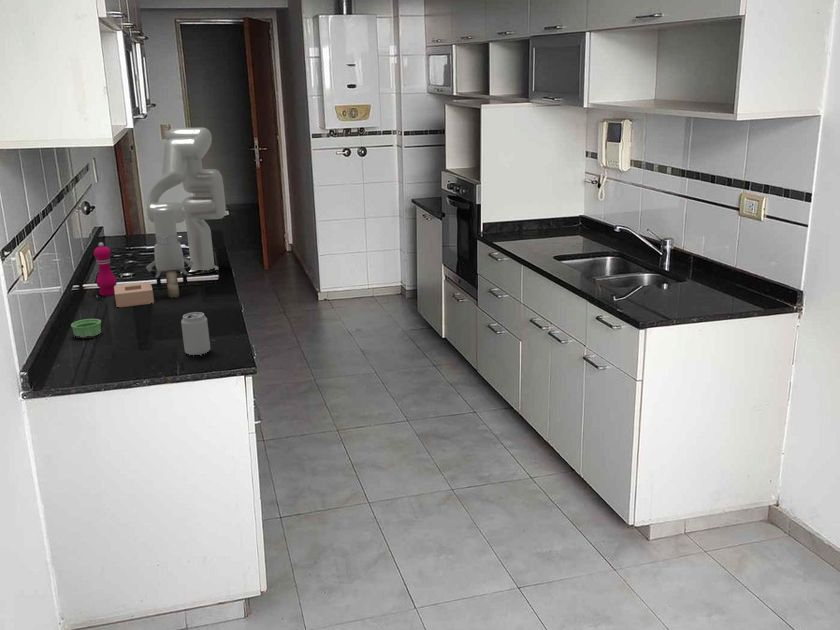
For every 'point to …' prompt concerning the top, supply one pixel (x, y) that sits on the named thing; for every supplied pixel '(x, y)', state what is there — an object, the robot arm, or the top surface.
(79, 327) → the ramekin
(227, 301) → the top surface
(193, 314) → the can
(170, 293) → the peg
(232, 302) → the top surface
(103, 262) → the pepper mill
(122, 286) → the socket
